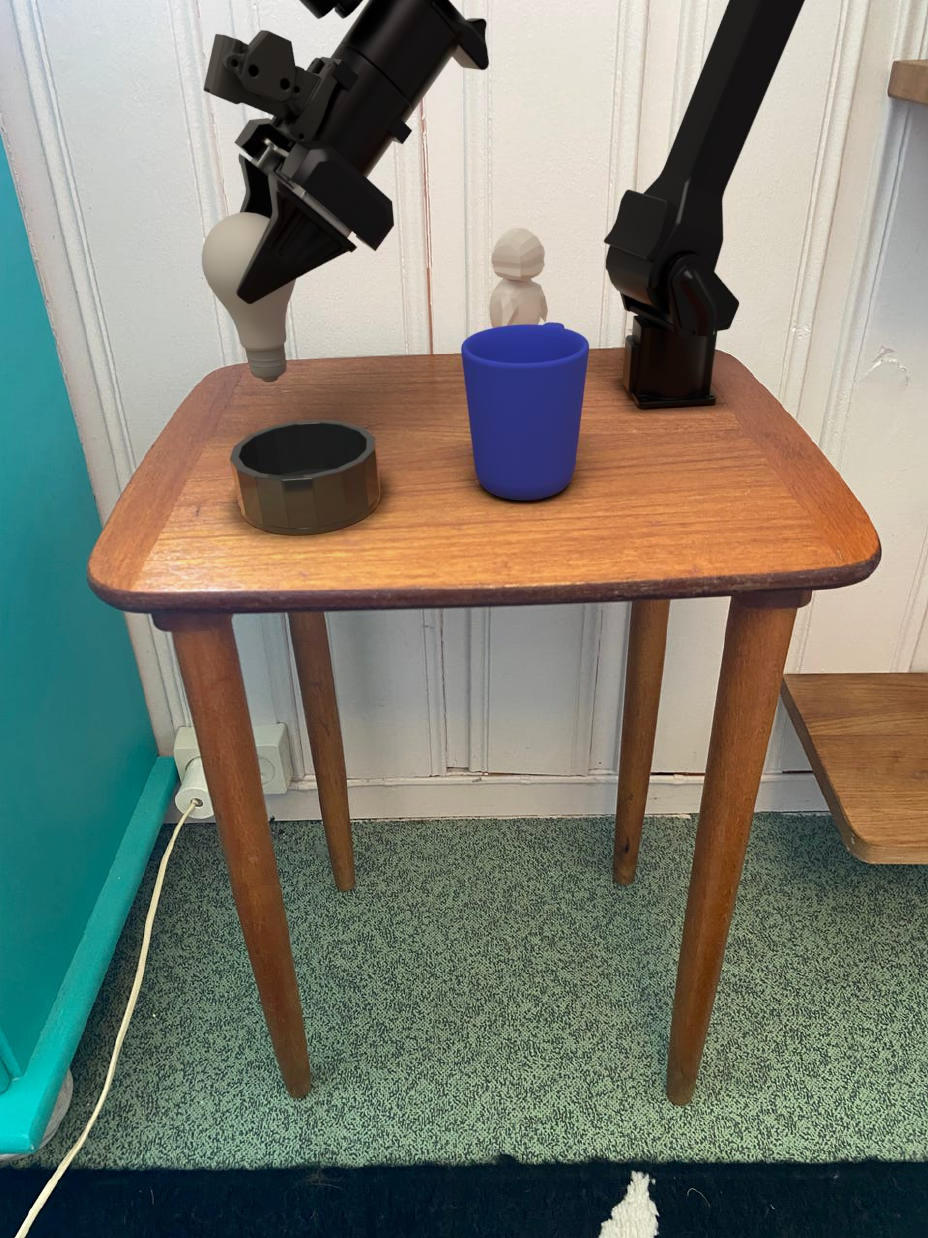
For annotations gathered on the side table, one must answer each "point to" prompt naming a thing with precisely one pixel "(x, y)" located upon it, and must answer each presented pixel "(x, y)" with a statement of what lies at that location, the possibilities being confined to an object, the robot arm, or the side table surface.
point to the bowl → (306, 476)
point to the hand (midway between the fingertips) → (233, 287)
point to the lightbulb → (254, 322)
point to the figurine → (517, 280)
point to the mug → (525, 406)
